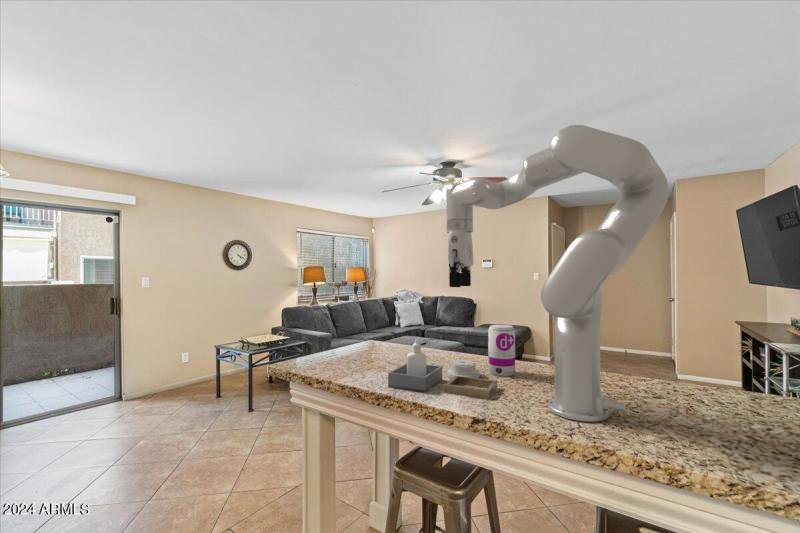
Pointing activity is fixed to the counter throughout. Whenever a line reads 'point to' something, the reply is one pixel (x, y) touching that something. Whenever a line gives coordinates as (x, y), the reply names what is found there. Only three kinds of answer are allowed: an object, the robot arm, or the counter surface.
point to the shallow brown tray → (472, 392)
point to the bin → (414, 379)
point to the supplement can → (501, 350)
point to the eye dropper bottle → (416, 361)
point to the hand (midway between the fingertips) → (460, 286)
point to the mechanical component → (463, 369)
